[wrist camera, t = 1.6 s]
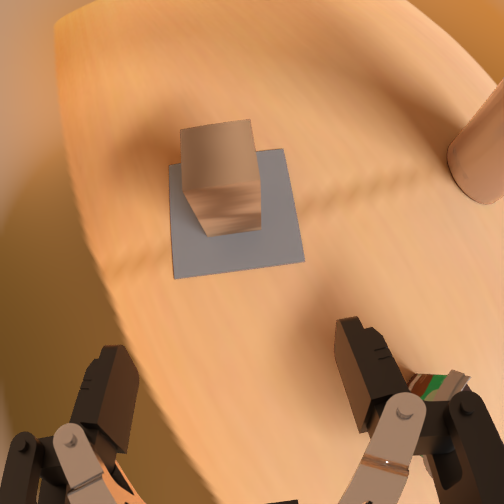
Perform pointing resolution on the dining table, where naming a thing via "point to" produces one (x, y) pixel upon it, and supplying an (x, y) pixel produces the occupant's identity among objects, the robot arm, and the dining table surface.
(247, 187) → the walnut block
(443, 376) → the food container
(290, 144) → the dining table surface
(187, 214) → the tile
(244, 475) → the dining table surface
